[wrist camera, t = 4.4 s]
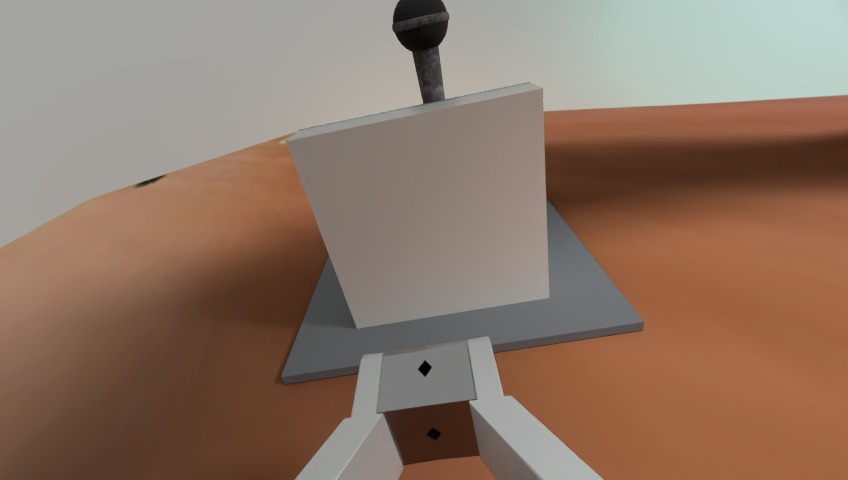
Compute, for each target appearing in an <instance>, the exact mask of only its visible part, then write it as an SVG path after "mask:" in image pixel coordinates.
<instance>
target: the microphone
mask: <svg viewBox="0 0 848 480" xmlns="http://www.w3.org/2000/svg"><path fill="white" fill-rule="evenodd" d="M448 20H449V14H448V12H447V11H446V8H445V6H444V4H443V2H442V1H441V0H400V1H399V2H398V3H397V6H396V8H395V11H394V16H393V25H392V26H393V27H392V29H393V31H394V32H395V34H396V36H397V38H398V40H399V41H400V43H401V44H402V45H403V46H404V47H405V48H406V49H408V50H410V51H412V53H413V58H414V63H415V67H416V72H417V76H418V81H419V85H420V90H421V95H422V99H423V104H426V103H431V102H436V101H441V100H445V97H444V88H443V81H442V73H441V65H440V57H439V49H438V45H440V43H441V42H442V40H443V38H444V37H445V35H446V32H447V27H448Z"/></svg>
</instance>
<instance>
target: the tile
mask: <svg viewBox="0 0 848 480" xmlns="http://www.w3.org/2000/svg"><path fill="white" fill-rule="evenodd" d="M286 143H287V146H288V148H289V151H290V153H291V156H292V159H293V161H294V164H295V167H296V169H297V172H298V175H299V177H300V180H301V182H302V185H303V188H304V190H305V193H306V196H307V198H308V201H309V203H310V206H311V209H312V211H313V214H314V217H315V219H316V222H317V225H318V227H319V230H320V232H321V235H322V238H323V240H324V243H325V246H326V248H327V251H328V254H329V256H330V259H331V261H332V264H333V267H334V269H335V272H336V275H337V277H338V280H339V282H340V285H341V288H342V290H343V293H344V296H345V298H346V301H347V304H348V306H349V309H350V311H351V314H352V317H353V319H354V322H355V325H356V327H357V329H359V328H365V327H371V326H377V325H384V324H390V323H396V322H402V321H409V320H415V319H421V318H427V317H433V316H440V315H446V314H452V313H458V312H464V311H471V310H477V309H483V308H489V307H496V306H502V305H508V304H514V303H520V302H527V301H533V300H539V299H545V298H549V270H548V239H547V208H546V177H545V146H544V115H543V89H542V88H541V87H539V86H536V85H534V84H532V83H530V82H528V83H523V84H518V85H514V86H508V87H504V88H499V89H494V90H489V91H484V92H480V93H475V94H470V95H465V96H460V97H455V98H451V99H446V100H441V101H436V102H431V103H426V104H422V105H417V106H412V107H407V108H402V109H398V110H393V111H388V112H383V113H378V114H374V115H369V116H364V117H359V118H354V119H349V120H345V121H340V122H336V123H330V124H326V125H321V126H316V127H311V128H306V129H301V130H299V131H297V132H296V133H295V134H294V135H293V136H291V137H290V138H289V139H288V140H287V141H286Z"/></svg>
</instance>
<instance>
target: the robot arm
mask: <svg viewBox="0 0 848 480" xmlns="http://www.w3.org/2000/svg"><path fill="white" fill-rule="evenodd" d="M467 344H468V345H467ZM471 456H480V458H481V459H482V461H483V462H484V463H485V465H486V466H487V468H488V469H489V470H490V472H491V473H492V474H493V476H494V477H495V478H496V480H603V479H602V478H601V477H600V476H599V475H598V474H597V473H595V472H594V471H593V470H592V469H591V468H590V467H589V466H588V465H587V464H586V463H584V462H583V461H582V460H581V459H580V458H579V457H578V456H577V455H576V454H575V453H574V452H572V451H571V450H570V449H569V448H568V447H567V446H566V445H565V444H564V443H563V442H561V441H560V440H559V439H558V438H557V437H556V436H555V435H554V434H553V433H552V432H550V431H549V430H548V429H547V428H546V427H545V426H544V425H543V424H542V423H541V422H539V421H538V420H537V419H536V418H535V417H534V416H533V415H532V414H531V413H530V412H529V411H527V410H526V409H525V408H524V407H523V406H522V405H521V404H520V403H519V402H518V401H516V400H515V399H514V398H513V397H512V396H511V395H510V396H504V395H503V391H502V386H501V382H500V378H499V374H498V370H497V366H496V362H495V358H494V354H493V349H492V345H491V341H490V339H489V337H488V336H486V337H480V338H474V339H468V340H462V341H456V342H450V343H443V344H437V345H431V346H426V347H420V348H412V349H404V350H396V351H388V352H384V353H375V354H367V355H363V357H362V359H361V361H360V367H359V373H358V378H357V384H356V390H355V395H354V401H353V407H352V413H351V417H350V418H344V419H343V420H342V422H341V423H340V424H339V425H338V427H337V428H336V429H335V430H334V432H333V433H332V434H331V435H330V437H329V438H328V439H327V440H326V441H325V443H324V444H323V445H322V446H321V448H320V449H319V450H318V451H317V453H316V454H315V455H314V456H313V458H312V459H311V460H310V461H309V462H308V464H307V465H306V466H305V467H304V469H303V470H302V471H301V472H300V474H299V475H298V476H297V477H296V479H295V480H398V479H399V477H400V475H401V473H402V471H403V469H404V467H403V465H409V464H415V463H421V462H428V461H434V460H440V459H450V458H461V457H471Z"/></svg>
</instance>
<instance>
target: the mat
mask: <svg viewBox="0 0 848 480" xmlns="http://www.w3.org/2000/svg"><path fill="white" fill-rule="evenodd" d="M546 208H547V239H548V270H549V298H545V299H539V300H533V301H527V302H520V303H514V304H508V305H502V306H496V307H489V308H483V309H477V310H471V311H464V312H458V313H452V314H446V315H440V316H433V317H427V318H421V319H415V320H409V321H402V322H396V323H390V324H384V325H377V326H371V327H365V328H359V329H357V327H356V325H355V322H354V319H353V317H352V314H351V311H350V309H349V306H348V304H347V301H346V298H345V296H344V293H343V290H342V288H341V285H340V282H339V280H338V277H337V275H336V272H335V269H334V267H333V264H332V261H331V259H330V256H328V258H327V261H326V263H325V266H324V268H323V271H322V274H321V276H320V279H319V281H318V284H317V286H316V289H315V291H314V294H313V296H312V299H311V301H310V304H309V306H308V309H307V312H306V314H305V317H304V319H303V322H302V324H301V327H300V329H299V332H298V334H297V337H296V339H295V342H294V344H293V347H292V350H291V352H290V355H289V357H288V360H287V362H286V365H285V367H284V370H283V372H282V375H281V379H282V381H283V382H284V384H290V383H297V382H303V381H310V380H316V379H323V378H330V377H336V376H343V375H350V374H356V373H359V367H360V361H361V359H362V357H363V355H367V354H375V353H384V352H388V351H396V350H404V349H412V348H420V347H426V346H431V345H437V344H443V343H450V342H456V341H462V340H468V339H474V338H480V337H486V336H488V337H489V339H490V341H491V345H492V349H493V353H495V352H502V351H509V350H515V349H522V348H528V347H535V346H542V345H548V344H555V343H562V342H568V341H575V340H581V339H588V338H595V337H601V336H608V335H615V334H621V333H628V332H634V331H641V330H643V324H644V321H643V320H642V319H641V318H640V316H639V315H638V314H637V313H636V311H635V310H634V309H633V307H632V306H631V305H630V304H629V302H628V301H627V300H626V299H625V297H624V296H623V295H622V293H621V292H620V291H619V290H618V288H617V287H616V286H615V284H614V283H613V282H612V281H611V279H610V278H609V277H608V276H607V274H606V273H605V272H604V270H603V269H602V268H601V267H600V265H599V264H598V263H597V262H596V260H595V259H594V258H593V256H592V255H591V254H590V253H589V251H588V250H587V249H586V248H585V246H584V245H583V244H582V242H581V241H580V240H579V239H578V237H577V236H576V235H575V234H574V232H573V231H572V230H571V228H570V227H569V226H568V225H567V223H566V222H565V221H564V220H563V218H562V217H561V216H560V214H559V213H558V212H557V211H556V209H555V208H554V207H553V206H552V204H551V203H550V202H549V200H548V199H547V198H546ZM467 345H468V344H467Z"/></svg>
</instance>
